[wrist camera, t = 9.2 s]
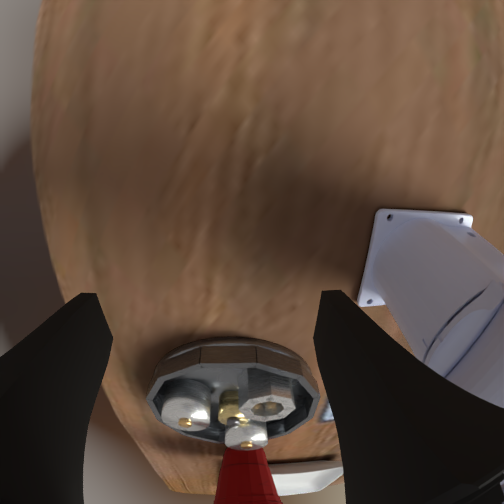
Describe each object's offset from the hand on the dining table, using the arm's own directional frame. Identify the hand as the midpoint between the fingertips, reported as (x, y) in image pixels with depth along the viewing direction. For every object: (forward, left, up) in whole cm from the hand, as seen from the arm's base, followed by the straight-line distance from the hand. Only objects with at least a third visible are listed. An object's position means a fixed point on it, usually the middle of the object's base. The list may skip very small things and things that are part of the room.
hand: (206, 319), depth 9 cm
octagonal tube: (-3, +16, -9) cm, 18 cm away
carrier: (0, +19, -10) cm, 21 cm away
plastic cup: (-1, +37, -10) cm, 38 cm away
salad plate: (-8, +53, -10) cm, 55 cm away
